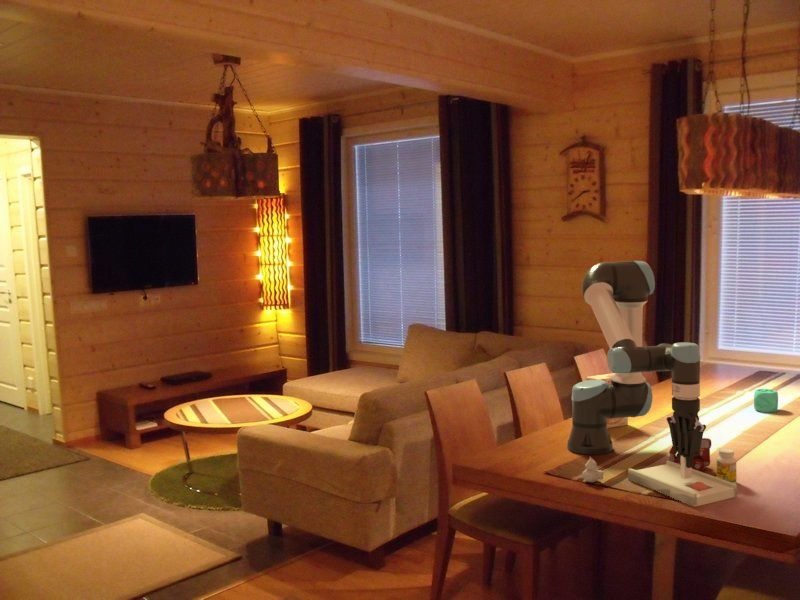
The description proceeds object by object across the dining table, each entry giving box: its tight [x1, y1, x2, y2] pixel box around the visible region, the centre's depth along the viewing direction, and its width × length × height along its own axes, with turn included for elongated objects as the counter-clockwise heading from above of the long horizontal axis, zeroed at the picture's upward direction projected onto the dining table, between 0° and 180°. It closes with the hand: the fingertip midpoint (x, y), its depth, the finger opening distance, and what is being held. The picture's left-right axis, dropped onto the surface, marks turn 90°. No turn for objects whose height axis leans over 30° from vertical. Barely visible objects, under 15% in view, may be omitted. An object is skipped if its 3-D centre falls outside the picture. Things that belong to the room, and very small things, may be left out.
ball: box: [692, 482, 707, 491], centre depth 215 cm, size 4×4×4 cm
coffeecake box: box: [585, 372, 629, 429], centre depth 293 cm, size 15×7×20 cm, turn 114°
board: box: [627, 459, 738, 508], centre depth 222 cm, size 26×16×4 cm, turn 25°
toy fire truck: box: [669, 437, 712, 472], centre depth 239 cm, size 7×12×10 cm, turn 57°
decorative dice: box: [753, 388, 779, 413], centre depth 308 cm, size 8×8×8 cm
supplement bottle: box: [716, 448, 737, 484], centre depth 225 cm, size 5×5×10 cm
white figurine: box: [581, 456, 605, 483], centre depth 230 cm, size 5×7×8 cm
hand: (686, 477), depth 220 cm, fingers closed
